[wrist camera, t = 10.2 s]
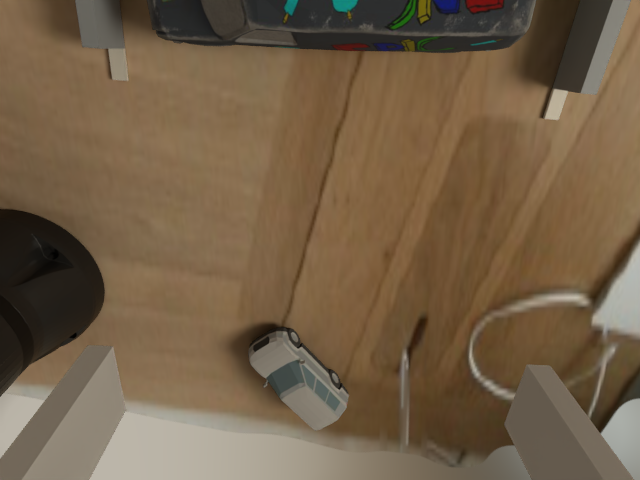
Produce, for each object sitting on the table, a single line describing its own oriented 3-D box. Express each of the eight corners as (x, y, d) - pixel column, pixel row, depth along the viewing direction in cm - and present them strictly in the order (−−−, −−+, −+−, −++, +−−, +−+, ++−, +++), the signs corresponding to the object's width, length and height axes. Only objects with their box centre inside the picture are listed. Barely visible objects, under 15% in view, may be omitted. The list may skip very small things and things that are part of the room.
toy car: (283, 315, 43) (278, 345, 39) (351, 385, 48) (354, 420, 43) (244, 340, 45) (235, 372, 40) (313, 405, 49) (312, 441, 45)
